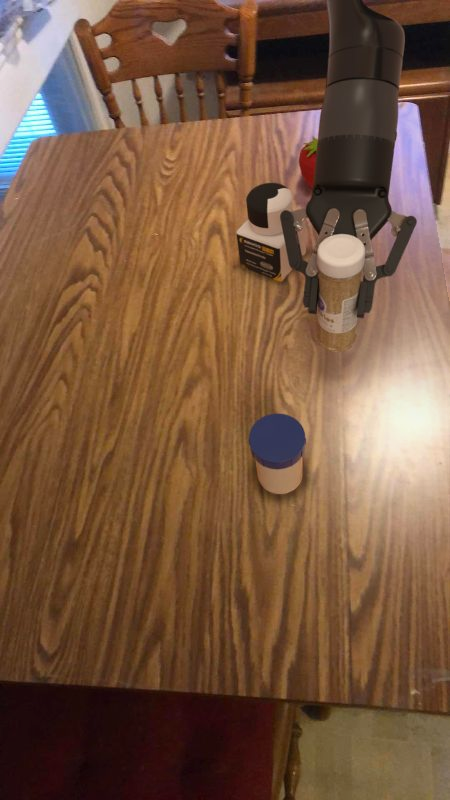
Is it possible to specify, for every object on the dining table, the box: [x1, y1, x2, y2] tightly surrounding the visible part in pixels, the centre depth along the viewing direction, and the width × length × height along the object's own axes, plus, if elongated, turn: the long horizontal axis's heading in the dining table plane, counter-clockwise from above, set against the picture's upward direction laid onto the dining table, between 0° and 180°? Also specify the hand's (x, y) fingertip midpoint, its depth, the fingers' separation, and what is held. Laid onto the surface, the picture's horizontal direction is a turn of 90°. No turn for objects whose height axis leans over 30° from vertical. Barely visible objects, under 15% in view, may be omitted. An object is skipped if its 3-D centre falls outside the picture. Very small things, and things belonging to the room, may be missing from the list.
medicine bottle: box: [235, 182, 307, 282], centre depth 78 cm, size 7×7×12 cm
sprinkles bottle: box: [316, 234, 365, 353], centre depth 60 cm, size 5×5×13 cm
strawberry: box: [298, 136, 318, 190], centre depth 87 cm, size 6×8×10 cm
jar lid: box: [248, 413, 307, 470], centre depth 57 cm, size 6×6×2 cm
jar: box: [254, 457, 304, 495], centre depth 60 cm, size 5×5×8 cm
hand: (336, 314), depth 59 cm, fingers closed on sprinkles bottle, 4 cm apart
